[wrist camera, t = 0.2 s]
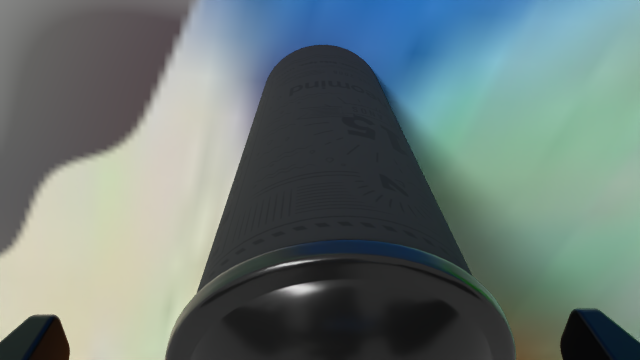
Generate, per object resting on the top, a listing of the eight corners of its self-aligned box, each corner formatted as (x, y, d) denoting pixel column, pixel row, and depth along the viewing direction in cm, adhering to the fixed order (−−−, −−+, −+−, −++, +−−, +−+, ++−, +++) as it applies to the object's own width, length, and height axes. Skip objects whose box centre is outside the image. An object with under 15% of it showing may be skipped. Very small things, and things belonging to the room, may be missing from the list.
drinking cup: (387, 187, 26) (526, 857, 10) (220, 161, 25) (69, 863, 9) (439, 29, 22) (835, 746, 6) (242, -10, 21) (28, 732, 5)
